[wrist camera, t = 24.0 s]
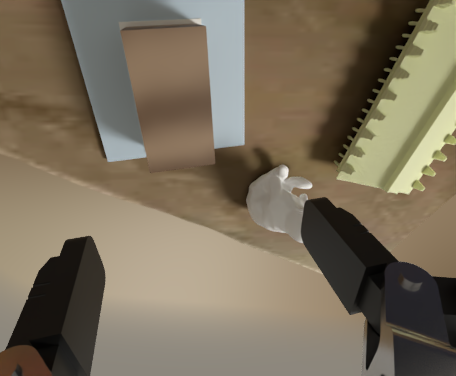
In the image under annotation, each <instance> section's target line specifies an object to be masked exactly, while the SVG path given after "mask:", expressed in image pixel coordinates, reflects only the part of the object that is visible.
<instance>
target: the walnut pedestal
mask: <svg viewBox="0 0 456 376" xmlns="http://www.w3.org/2000/svg"><path fill="white" fill-rule="evenodd" d="M120 33H121V38H122V42H123V47H124V52H125V57H126V61H127V66H128V71H129V76H130V80H131V85H132V90H133V95H134V99H135V104H136V109H137V114H138V118H139V123H140V128H141V132H142V137H143V142H144V147H145V151H146V156H147V161H148V166H149V170H150V173H154V172H162V171H169V170H176V169H183V168H190V167H198V166H205V165H212V164H215V151H214V137H213V122H212V107H211V92H210V77H209V62H208V47H207V32H206V26H204V25H200V24H196V23H192V24H173V25H153V26H133V27H125V28H123V29H122V30H120Z"/></svg>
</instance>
